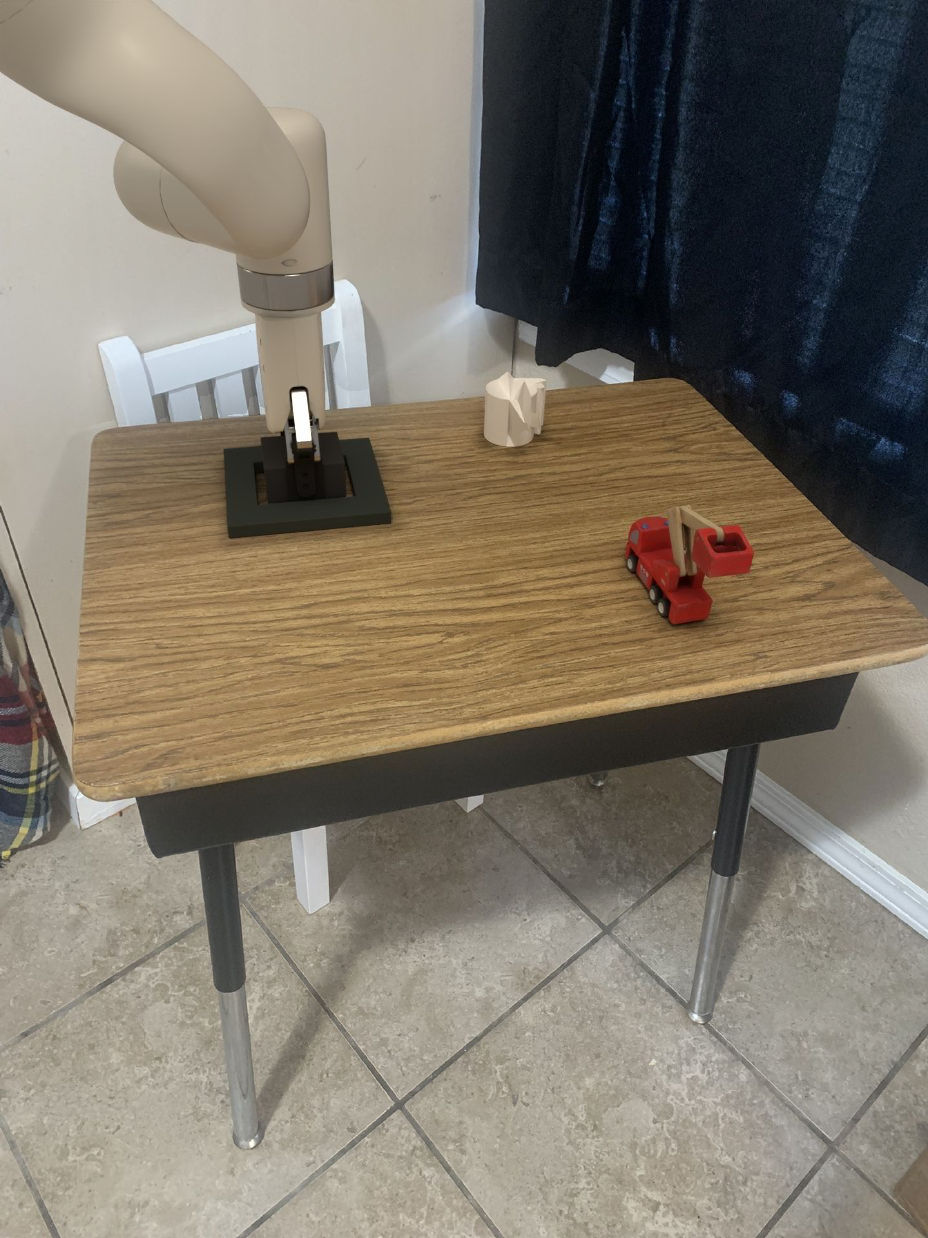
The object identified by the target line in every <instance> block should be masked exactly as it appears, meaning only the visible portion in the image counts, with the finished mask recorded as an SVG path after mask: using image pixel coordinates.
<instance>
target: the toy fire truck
mask: <svg viewBox="0 0 928 1238" xmlns="http://www.w3.org/2000/svg"><path fill="white" fill-rule="evenodd" d="M754 554H755V550H754V548H753V547H752V544H750V541H749V540H748V538H747V536H746V535H745V533H744V531H743V529H742V527H741V526H740V524H739V525H738V524H734V525H733V524H732V525H725V526H719V525H717V524H715V523H714V522H712V521H711V520H709V519H707V518H705V517H704V516H702V515H700V513H698V512H696V511H694V510H693V509H692V505H690V504H686V505H680V506H677V505H676V506H673V507H671V508H669V509H667V510H666V517H663V516H645V517H642V518H640V519H637V520H636V521H634V522H633V523H632V524H631V525H630V528H629V531H628V535H627V543H626V545H625V553H624V557H625V560H626V567H627V569H628V571H629V572H630V573H636V575H637V576H638V578H639V579H640V581H641V582H642V583H643V585H644V586H645V588H646V589H647V590H648V596H649V599H650V602H651V603H653V604H657V611H658V614H659V616H660V617H668V620H669V622H670V623H671V624H672V625H679V624H685V623H690V622H691V623H692V622H696V621H700V620H701V621H703V620H707V619H709V617H710V613H711V608H712V604H713V603H714V601H713V598H712V597H711V596H710V595H709V593H708V592H707V591H706V589H705V588H704V587H703V584H704V581H705V577H706V578H708V579H715V578H721V577H729V576H736V575H744V574H745V575H746V574H749V573H750V572H751V568H752V564H753V559H754V556H755V555H754Z"/></svg>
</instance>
